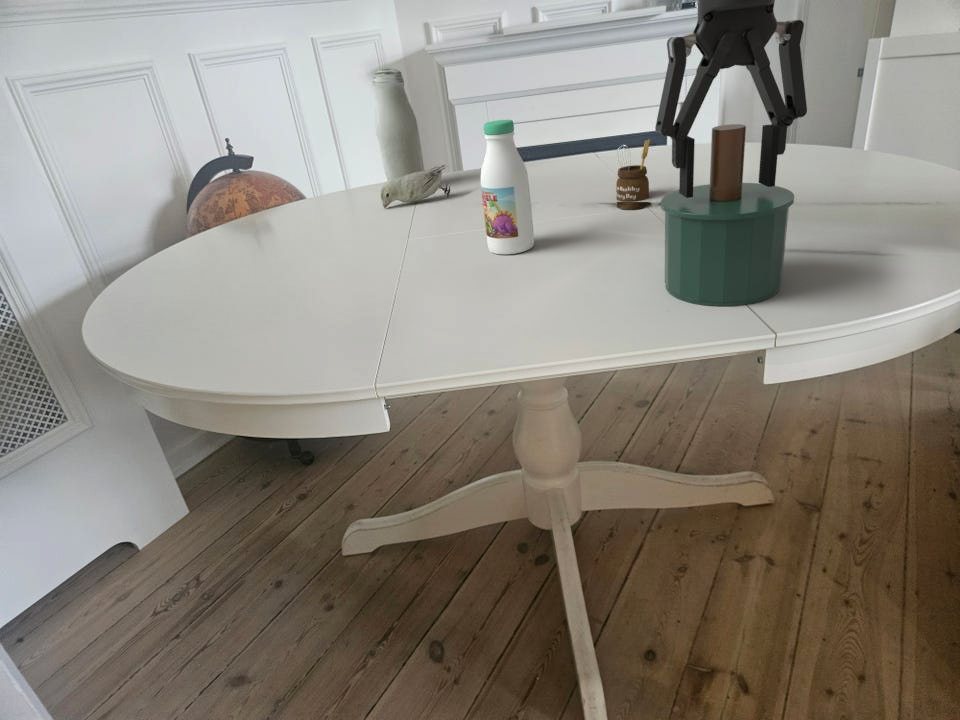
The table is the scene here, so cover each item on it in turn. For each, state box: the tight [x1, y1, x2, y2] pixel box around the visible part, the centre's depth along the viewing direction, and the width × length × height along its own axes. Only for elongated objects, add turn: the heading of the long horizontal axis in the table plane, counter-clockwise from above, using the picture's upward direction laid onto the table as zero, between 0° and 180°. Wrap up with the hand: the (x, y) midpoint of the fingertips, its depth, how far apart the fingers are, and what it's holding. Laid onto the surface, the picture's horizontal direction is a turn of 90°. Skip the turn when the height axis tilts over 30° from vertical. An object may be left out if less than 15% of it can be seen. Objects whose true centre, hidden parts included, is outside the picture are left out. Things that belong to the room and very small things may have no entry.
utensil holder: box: [615, 138, 651, 211], centre depth 116 cm, size 6×6×12 cm
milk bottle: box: [480, 119, 535, 255], centre depth 100 cm, size 8×8×20 cm
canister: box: [664, 207, 790, 307], centre depth 77 cm, size 14×14×10 cm
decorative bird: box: [380, 162, 452, 209], centre depth 143 cm, size 5×16×7 cm, turn 105°
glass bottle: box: [372, 67, 425, 181], centre depth 153 cm, size 10×10×28 cm
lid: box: [660, 123, 795, 220], centre depth 73 cm, size 15×15×9 cm
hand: (726, 189), depth 74 cm, fingers open, 9 cm apart
